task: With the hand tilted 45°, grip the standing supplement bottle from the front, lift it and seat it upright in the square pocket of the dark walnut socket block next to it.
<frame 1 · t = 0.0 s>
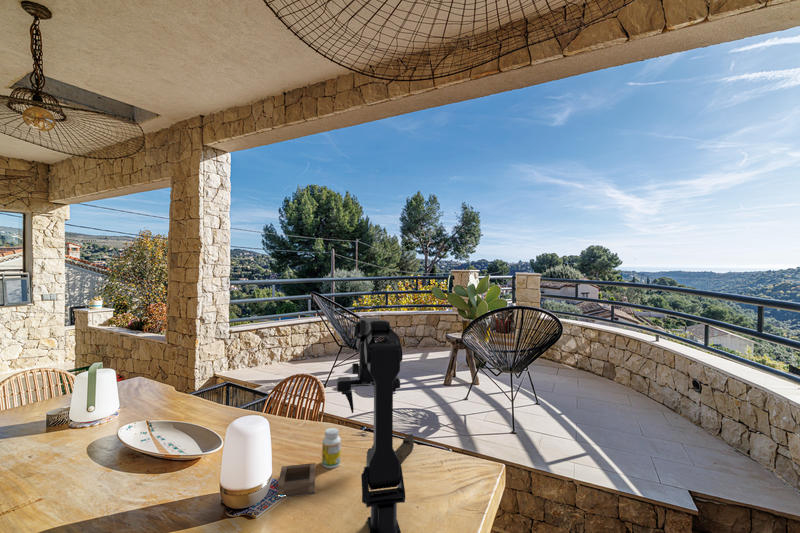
hand: (367, 411, 104), 15 cm above the table, tool pointing down, fingers open, 9 cm apart
socket block: (297, 485, 91), on the table
hand tool: (399, 460, 105), on the table
supplement bottle: (331, 464, 102), on the table
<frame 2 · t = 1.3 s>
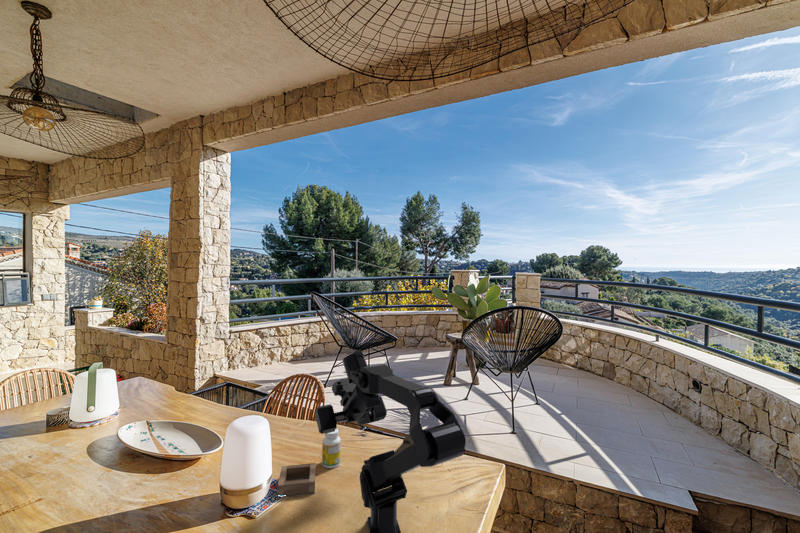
hand: (342, 427, 96), 13 cm above the table, tool tilted 45°, fingers open, 9 cm apart
nothing on the table moved.
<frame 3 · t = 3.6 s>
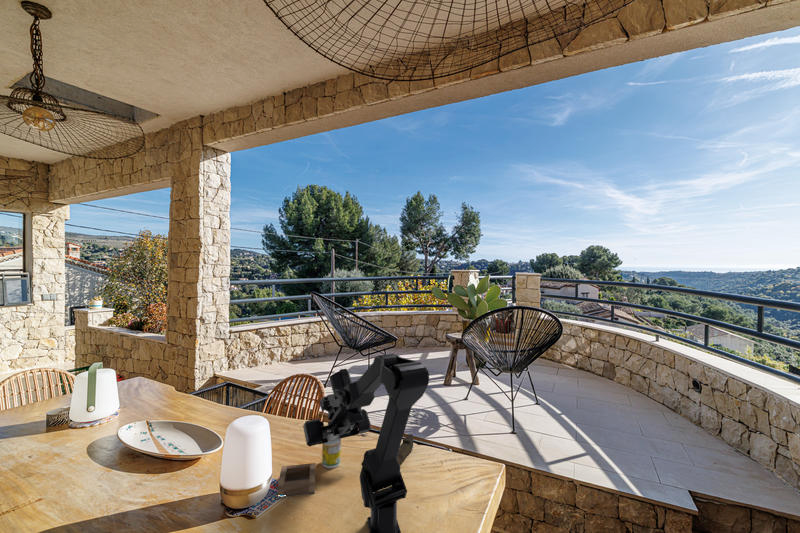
hand: (330, 439, 103), 7 cm above the table, tool tilted 45°, fingers closed on supplement bottle, 5 cm apart
supplement bottle: (331, 464, 102), on the table, touching gripper
everything else where it was.
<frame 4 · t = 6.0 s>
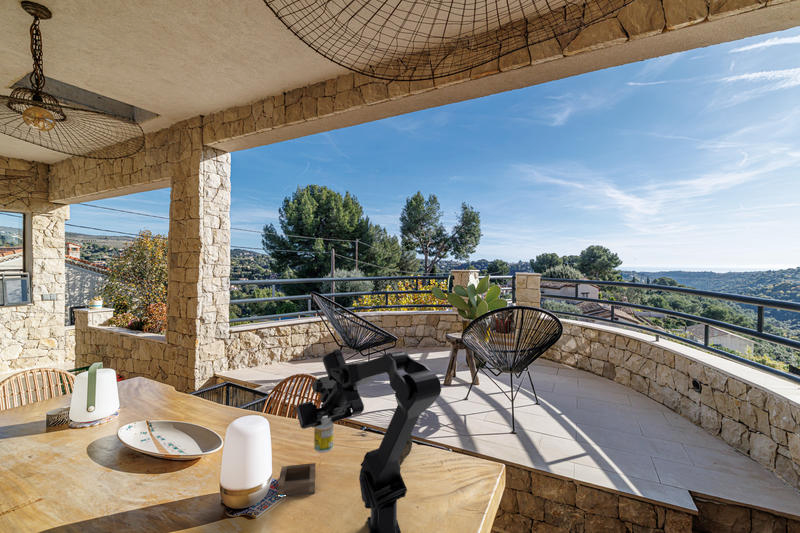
hand: (321, 423, 101), 12 cm above the table, tool tilted 45°, fingers closed on supplement bottle, 5 cm apart
supplement bottle: (323, 449, 99), point 5 cm above the table, touching gripper
everything else where it was.
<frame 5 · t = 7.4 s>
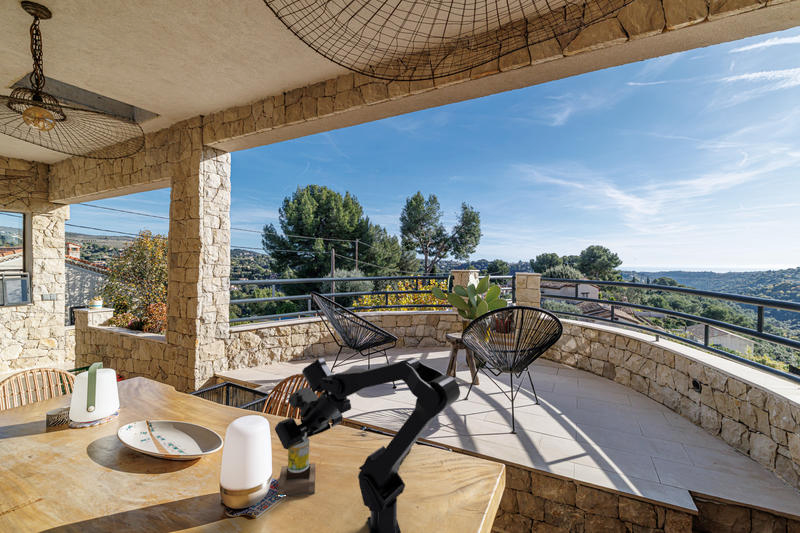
hand: (295, 440, 92), 11 cm above the table, tool tilted 45°, fingers closed on supplement bottle, 5 cm apart
supplement bottle: (298, 468, 91), point 4 cm above the table, touching gripper
everything else where it was.
when the fingers open (8 cm above the table, at t = 8.4 s): supplement bottle drops 1 cm, resting on socket block.
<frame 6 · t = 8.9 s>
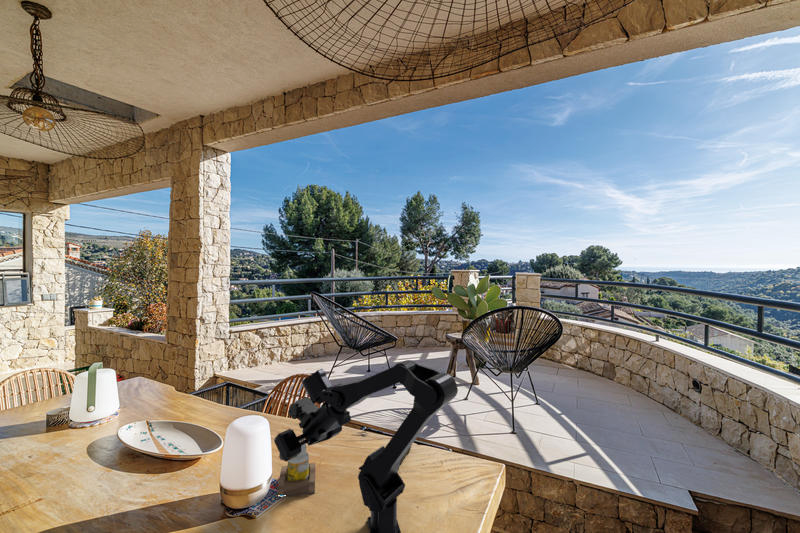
hand: (294, 450, 92), 9 cm above the table, tool tilted 45°, fingers open, 9 cm apart
supplement bottle: (297, 484, 91), resting on socket block
everything else where it was.
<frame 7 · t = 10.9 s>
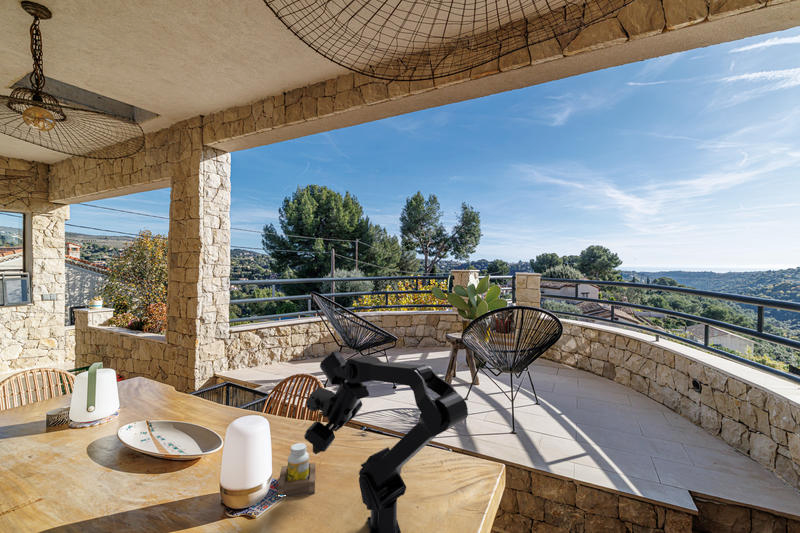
hand: (324, 440, 91), 12 cm above the table, tool tilted 30°, fingers open, 9 cm apart
nothing on the table moved.
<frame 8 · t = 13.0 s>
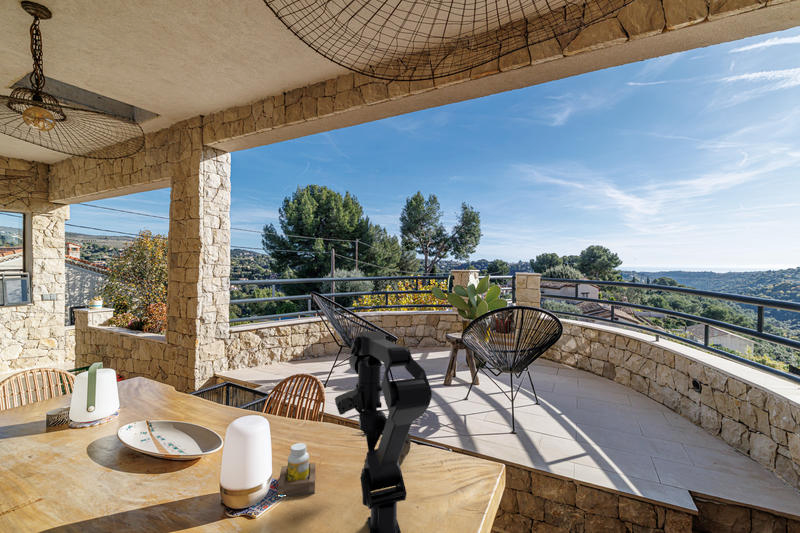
hand: (368, 443, 87), 13 cm above the table, tool pointing down, fingers open, 9 cm apart
nothing on the table moved.
at the end: supplement bottle 0.2 cm off-centre on the socket block, point 0.3 cm above the socket block's base; supplement bottle tilted 0°; the gripper is holding nothing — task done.
